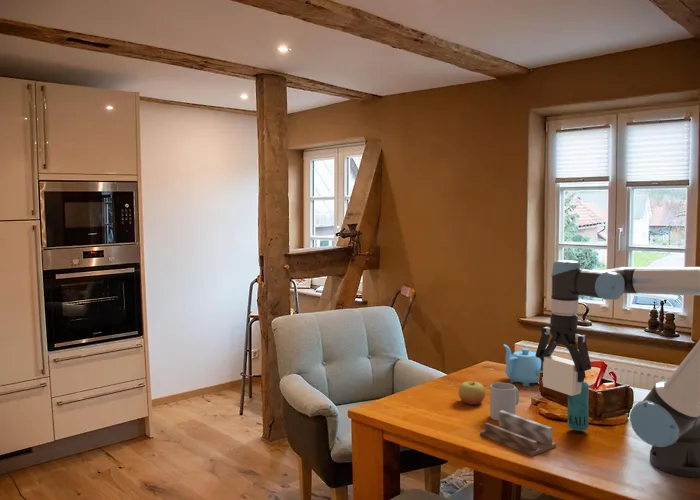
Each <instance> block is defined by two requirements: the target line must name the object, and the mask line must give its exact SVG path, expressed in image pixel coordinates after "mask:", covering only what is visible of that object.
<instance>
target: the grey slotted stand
mask: <svg viewBox="0 0 700 500" xmlns="http://www.w3.org/2000/svg"><path fill="white" fill-rule="evenodd" d="M479 434H480V435H481V436H482V437H484V438H487V437H488V439H489V438H490V440H492V439H493V440H492V441H494V440H495V441H494V442H497V441H498V442H497V443H499V442H500V443H499V444H502V445H504V444H505V445H504V446H506V445H507V446H506V447H509V448H511V449H514V450H516V449H517V450H516V451H519V452H521V451H522V452H521V453H523V452H524V454H526V455H528V454H529V455H528V456H531V457H533V456H536V454H537V455H538V454H541V453H544V452H547V451H548V450H549V451H550V450H551V449H554V448H556V447H557V444H556V443H555V442H553V426H552V427H551V426H549V425H545V424H543V423H539V422H537V421H534V420H531V419H529V418H526V417H522V416H520V415H517V414H516V415H515V414H512V413H509V412H506V411H503V410H501V411H499V421H498V425H495V424H492V423H489V422H485V423H484V430H481V431H479Z"/></svg>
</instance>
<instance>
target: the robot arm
mask: <svg viewBox="0 0 700 500" xmlns="http://www.w3.org/2000/svg"><path fill="white" fill-rule="evenodd" d="M623 294H632V295H633V294H636V295H637V294H641V295H643V294H645V295H674V296H700V266H660V267H659V266H657V267H656V266H655V267H653V266H646V267H643V266H642V267H641V266H638V267H634V266H633V267H631V266H626V265H625V266H623V265H622V266H618V267H615V268H614V267H613V268H608V269H607V268H606V269H602V270H600V269H599V270H594V269H583V268H581V263H580V261H577V260H568V259H563V260H562V259H559V260H555V261H553V263H552V271H551V297H550V311H551V313H550V316H549V317H550V320H549V321H550V322H549V324H550V326H545V327H542V328H541V329H540V331H541V335H540V338H539V342H538V346H537V348H536V351H535V352H536V357H537V358H540V360H541V371H543V373H544V357H547V356H551V355H552V354H553V353H554V351H555V349H556V347H557V346H558V345H562V346H564V347H565V348H566V349H567V351H569V355H570V356H571V359H572V361H573V362H574V364H575V367H576V369H577V370H575V371H574V392H573V393H575V394H576V393H579V392H581V388H582V382H584V381H585V378H584V372H585V373H586V371H590V370H592V363H591V359H590V355H589V351H588V350H589V349H588V347H587V346H588V345H587V339H588V338H587V335H586V334H579V333H578V332H577V328H578V325H579V324H578V320H579V316H578V313H579V299H580V298H579V297H580V296H584V297H591V298H596V299H602V300H605V301H606V300H613V301H614V300H615V301H616V300H619V299H621V296H622V295H623ZM550 336H552V337H550ZM549 339H550V340H549ZM541 381H542V382H541V384H543V377H542V380H541ZM629 422H630V423H631V428H632V431H634V433H635V435H636V436H637V437H638V438H639V439H640V440H642V441H643V442H644V443H646V444H648V445H650V446H651V448H650V451H649V462H650V463H651V465H652V466H654V467H655V468H657V469H659V470H661V471H662V472H665V473H667V474H668V473H669V474H672V475H675V476H680V477H685V478H687V477H688V478H700V339H699V340H698V341H697V342H696V344H695V345H694V346H693V348H692V349H691V350H690V352H688V354H687V355H686V356H685V357H684V359H683V360H682V362H680V364H679V365H678V366H677V368H676V369H675V370H674V372H672V374H671V375H670V377H669V378H668V379H663V380H659V381H658V382H657V383H655V385H654V386H653V387H652V388H651V390H650V391H649V392H648V394H647V395H646V396H645V397H644V399H642V401H641V400H640V401H639V402H638V401H637V403H636V404H634V406H633V408H632V409H631V410H630V413H629Z"/></svg>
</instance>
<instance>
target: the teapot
mask: <svg viewBox="0 0 700 500" xmlns="http://www.w3.org/2000/svg"><path fill="white" fill-rule="evenodd" d="M503 347H504V349H505V359H504V361H505V374H506V377H507V378H509V379H510V381H509V382H510V383H512V382H516V383H517V382H518V383H522V387H524V386H529V387H530V384H531V383H533V384H535V383H538V382H539V375H540V372H543V371H541V360H540V358H537V357H536V351H534V352H533V351H530V348H521V350H519V351H515V352H513V353H512V350H511V348H510V347H509V346H508V345H507V344H505V343H504V344H503Z"/></svg>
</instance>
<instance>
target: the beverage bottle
mask: <svg viewBox="0 0 700 500" xmlns="http://www.w3.org/2000/svg"><path fill="white" fill-rule="evenodd" d="M584 379H586V371H585V372H584ZM589 388H590V385H589V383H588V382H587V381H586V380H584V382H582V388H581V393H580V394H577V395H574V396H571V395H568V394H567V401H566V402H567V410H566V411H567V412H566V413H567V417H566V420H567V422H566V425H567V427H568V428H569V429H570V430H573V431H581V432H584V431H587V430H588V429H589V422H590V421H589V392H590V391H589Z"/></svg>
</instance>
